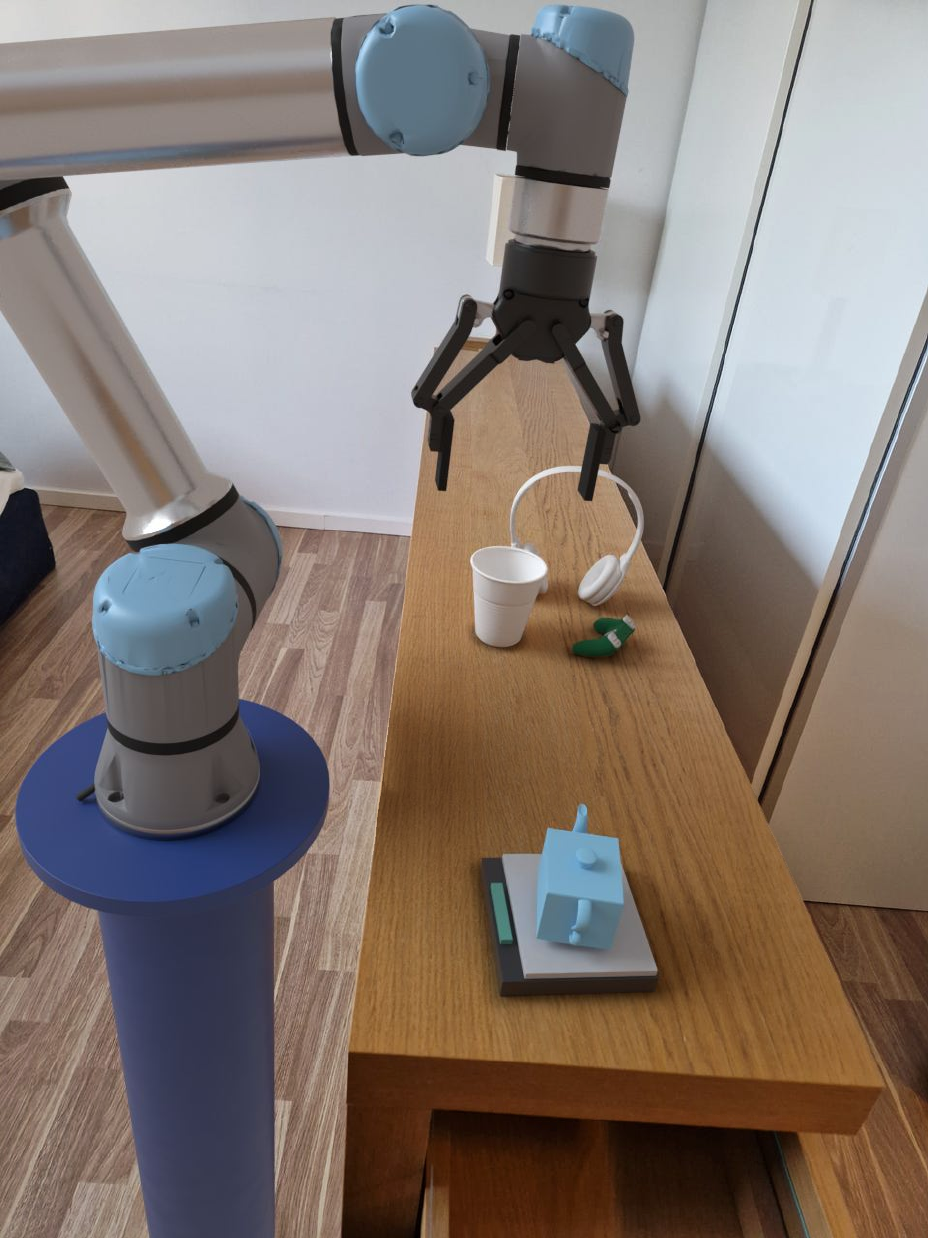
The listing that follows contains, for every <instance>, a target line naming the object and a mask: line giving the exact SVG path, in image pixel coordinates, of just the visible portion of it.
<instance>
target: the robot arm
mask: <svg viewBox="0 0 928 1238" xmlns="http://www.w3.org/2000/svg"><path fill="white" fill-rule="evenodd" d="M634 45H635V31H634V29H633V25H632V24H631V22H630V21H629V19H628V18H626V17H625V16H624V15H621V14H619V13H616V12H613V11H609V10H607V9H602V8H597V7H591V6H583V5H582V6H581V5H568V4H548V5H545V6H543V7H541V8H540V9H539V10H538V11H537V13H536V14H535V19H534V23H533V26H532V27H531V29H530V34H523V33H520V34H513V33H511V34H505V33H500V32H494V31H488V30H482V29H476V28H472V27H470V26H469V25H468V24H467V23H466V22H465V21H464V20H463V19H462V18H461V17H460V16H458V15H457V14H456V13H454V12H453V11H451V10H446V9H443V8H442V7H440V6H439V5H438V4H437V5H436V4H420V3H418V4H406V5H401V6H398V7H396V8H395V9H393V10H392V11H389V12H385V13H383V12H382V13H371V14H359V15H352V16H347V17H338V18H337V17H336V16H330V17H319V18H316V17H315V18H305V19H292V20H280V21H268V22H267V21H266V22H256V23H243V24H230V25H229V24H227V25H219V26H218V25H217V26H216V25H215V26H204V27H203V26H202V27H193V28H180V29H165V30H153V31H152V30H151V31H142V32H140V31H139V32H130V33H117V34H103V35H91V36H90V35H89V36H79V37H67V38H54V39H53V38H51V39H39V40H28V41H14V42H4V43H3V42H2V43H0V313H1V314H2V316H3V318H4V320H5V321H6V323H7V324H8V325H9V327H10V329H11V331H13V333H14V336H16V339H17V340H18V341H19V343H20V344H21V346H22V348H23V349H24V351H25V353H26V354H27V356H28V357H29V359H30V361H31V362H32V364H33V365H34V367H35V368H36V370H37V372H38V373H39V375H40V376H41V378H42V379H43V381H44V383H45V384H46V386H47V387H48V389H49V391H50V392H51V395H53V397H54V398H55V400H56V402H57V403H58V405H59V406H60V408H61V410H62V412H63V413H64V414H65V416H66V418H67V420H68V421H69V423H70V425H72V428H73V429H74V430H75V432H76V434H77V435H78V437H79V438H80V441H82V443H83V445H84V447H85V448H86V449H87V451H88V453H89V454H90V456H91V457H92V459H93V461H94V462H95V464H96V465H97V468H98V469H99V471H100V472H101V473H102V475H103V477H104V478H105V480H106V481H107V484H109V486H110V487H111V489H112V491H113V492H114V494H115V496H116V497H117V498H118V501H119V502H120V504H121V505H122V507H123V508H124V510H125V513H126V515H125V519H124V523H123V527H122V530H121V535H122V537H123V539H124V540H125V542H126V544H127V545H128V546H129V548H130V550H131V552H129V553H127V554H124V555H123V556H121V557H119V558H118V559H117V560H115V561H114V562H112V563H111V564H110V565H109V566H108V567H107V568H106V569H105V570H104V571H103V572H102V573H101V574H100V577H99V578H98V580H97V582H96V584H95V587H94V591H93V594H92V595H93V596H92V617H91V626H92V627H91V628H92V633H93V638H94V641H95V644H96V652H97V658H98V665H99V666H98V667H99V672H100V680H101V681H100V682H101V687H102V695H103V701H104V710H105V711H104V712H106V717H107V725H108V729H107V732H106V736H105V739H104V742H103V746H102V749H101V752H100V756H99V759H98V763H97V766H96V770H95V778H94V783H93V784H92V785H90V786H89V787H88V788H86V789H85V790H83V791H82V792H80V793H79V794H77V795H76V798H77V799H78V800H79V801H82V800H84V799H85V798H87V797H88V796H90V795H91V794H92V793H94V792H95V797H96V803H97V806H98V809H99V811H100V813H101V814H102V815H103V817H104V818H105V819H106V820H107V821H108V822H109V823H110V824H111V825H113V826H114V827H115V828H117V829H119V830H120V831H122V832H124V833H127V834H129V835H132V836H135V837H139V838H143V839H149V840H159V841H172V840H183V839H189V838H194V837H198V836H202V835H205V834H208V833H211V832H213V831H216V830H218V829H220V828H222V827H224V826H226V825H227V824H229V823H231V822H232V821H234V820H235V819H236V818H238V817H239V816H240V815H241V814H242V813H243V812H244V811H245V810H247V808H248V807H249V806H250V805H251V803H252V802H253V800H254V799H255V797H256V795H257V792H258V789H259V785H260V764H259V759H258V755H257V750H256V749H255V747H254V746H255V745H254V743H253V742H252V741H253V740H251V739H252V737H251V738H250V736H251V735H250V736H249V734H250V732H249V734H248V732H247V729H246V727H245V725H244V723H243V721H242V719H241V717H240V714H239V699H240V688H239V664H240V663H239V662H240V656H241V654H242V653H241V652H242V651H243V649H244V647H245V645H246V643H247V641H248V638H249V636H250V634H251V632H252V631H253V629H254V627H255V625H256V623H257V621H258V619H259V617H260V615H261V613H262V611H263V609H264V607H265V605H266V603H267V602H268V600H269V598H270V597H271V596H272V594H273V592H274V591H275V588H276V585H277V584H278V581H279V577H280V573H281V568H282V563H283V555H284V554H283V553H284V552H283V543H282V538H281V534H280V532H279V529H278V527H277V526H276V524H275V522H274V520H273V519H272V517H271V516H270V515H269V514H268V512H267V511H266V510H265V509H264V508H263V507H262V506H260V505H259V504H258V503H256V502H255V501H254V500H253V501H250V500H248V499H247V498H245V496H243V495H241V494H240V493H239V492H238V490H237V487H236V486H235V484H234V482H233V481H232V480H231V478H230V477H229V476H226V475H223V474H220V473H216V472H213V471H212V470H211V471H210V470H209V469H208V468H207V466H206V465H205V464H206V463H204V461H203V459H202V457H201V456H200V453H199V452H198V451H197V449H196V447H195V445H194V443H193V442H192V440H191V438H190V435H189V434H188V433H187V431H186V429H185V427H184V425H183V424H182V422H181V421H180V418H179V417H178V415H177V413H176V411H175V409H174V407H172V404H171V403H170V401H169V399H168V397H167V396H166V394H165V392H164V390H163V389H162V387H161V385H160V383H159V381H158V380H157V378H156V376H155V374H154V372H153V371H152V369H151V367H150V365H149V364H148V362H147V360H146V359H145V357H144V355H143V353H142V352H141V350H140V348H139V346H138V344H137V343H136V341H135V339H134V337H133V335H132V334H131V332H130V330H129V328H128V327H127V325H126V323H125V321H124V319H123V318H122V316H121V315H120V312H119V311H118V309H117V307H116V305H115V304H114V302H113V300H112V299H111V297H110V295H109V293H108V292H107V290H106V288H105V286H104V284H103V283H102V281H101V278H100V277H99V276H98V274H97V272H96V270H95V268H94V267H93V265H92V262H90V260H89V258H88V256H87V255H86V253H85V251H84V249H83V247H82V246H81V244H80V241H79V240H78V238H77V236H76V235H75V233H74V231H73V230H72V228H71V226H70V224H69V220H68V214H69V209H70V205H71V199H72V195H73V193H72V190H71V189H70V187H69V185H68V183H67V182H66V179H65V177H71V176H72V177H73V176H86V175H99V174H100V175H101V174H115V173H116V174H117V173H126V172H127V173H128V172H141V171H143V172H144V171H157V170H158V171H159V170H171V169H187V168H200V167H214V166H229V165H242V164H243V165H244V164H257V163H258V164H259V163H271V162H272V163H273V162H284V161H285V162H286V161H298V160H299V161H301V160H314V159H316V160H317V159H327V158H330V159H331V158H342V157H355V156H356V157H357V156H361V157H371V156H386V155H387V156H388V155H401V154H402V155H403V154H406V155H408V156H410V157H430V156H437V155H443V154H447V153H449V152H451V151H453V150H455V149H457V148H458V147H460V146H466V147H467V146H468V147H473V148H474V147H475V148H483V149H494V150H497V151H502V152H506V151H509V152H515V153H516V165H515V167H514V168H515V170H514V180H513V188H512V193H511V199H510V200H511V202H510V208H509V214H508V220H507V229H508V231H509V232H510V233H512V234H513V238H511V239H508V240H507V242H505V243H504V245H505V246H504V251H503V252H504V253H503V259H502V266H501V273H500V280H499V289H498V293H497V296H496V298H495V300H494V301H493V302H488V301H484V300H481V299H480V300H479V299H475V298H474V297H472V296H471V295H470V294H468V293H467V294H464V295H463V294H462V295H461V297H460V298H459V301H458V305H457V309H456V314H455V319H454V321H453V323H452V324H451V326H450V328H449V329H448V331H447V332H446V335H444V337H443V339H442V340H441V343H440V344H439V346H438V347H437V349H436V350H435V352H434V353H433V356H432V357H431V358H430V360H429V362H428V363H427V365H426V367H425V368H424V370H423V371H422V373H421V375H420V376H419V378H418V380H417V382H416V383H415V385H414V386H413V388H412V390H411V391H410V397H411V400H412V403H413V406H414V407H416V409H422V410H424V411H426V412H428V413H429V419H428V420H429V421H428V430H427V445H428V448H429V451H430V452H435V453H437V459H436V466H435V477H434V481H435V485H436V488H437V491H438V492H447V488H448V481H449V480H448V479H449V470H450V464H451V456H452V454H451V453H452V447H453V438H454V429H455V417H454V415H453V413H452V411H451V410H452V409H453V408H455V407H456V406H457V405H458V404H459V403H460V402H461V401H462V400H463V399H464V398H465V397H466V396H467V395H468V394H469V393H470V392H471V391H472V390H474V388H475V387H476V386H478V385H479V383H480V382H481V381H483V380H484V379H485V378H486V377H487V376H488V375H489V374H490V373H491V372H492V371H493V370H495V368H496V367H498V366H499V365H501V364H502V363H504V362H505V361H506V360H507V359H508V358H509V357H510V356H512V357H514V358H516V359H517V360H518V361H523V362H530V361H536V360H537V361H540V362H542V363H544V364H552V365H554V364H555V362H559V361H560V360H563V361H564V363H565V364H566V366H567V367H568V369H569V371H570V373H571V374H572V376H573V377H574V379H575V381H576V382H577V384H578V386H579V387H580V390H581V391H582V393H583V394H584V397H585V398H586V400H587V401H588V403H589V404H590V406H591V408H592V409H593V411H594V413H595V414H596V417H597V419H598V420H599V421H600V422H599V423H597V422H590V423H589V428H588V432H587V439H586V444H585V449H584V453H583V458H582V465H581V466H582V469H581V472H580V474H579V478H578V479H579V480H578V484H577V492H578V494H579V495H580V496H581V498H582V500H583V501H584V502H593V500H594V495H595V489H596V485H597V479H598V476H599V475H598V470H600V465H609V464H610V461H611V459H612V456H613V450H614V445H615V441H616V436H617V435H618V434H620V433H621V432H622V430H623V428H625V427H628V426H631V427H636V426H638V425H639V424H640V422H641V418H642V417H641V414H640V410H639V406H638V401H637V398H636V394H635V393H636V392H635V390H634V386H633V383H632V379H631V374H630V370H629V367H628V362H627V358H626V354H625V351H624V346H623V333H624V323H625V320H624V318H623V317H622V315H620V314H619V313H617V312H615V311H614V310H612V309H606V310H605V311H604V312H603V313H602V312H600V313H594V312H593V313H591V312H590V307H589V306H590V299H591V294H592V288H593V283H594V277H595V272H596V267H597V261H598V256H597V255H596V251H594V250H592V249H593V245H597V244H598V243H600V242H601V240H602V235H603V229H604V223H605V217H606V210H607V205H608V199H609V192H610V187H611V182H612V179H611V178H612V176H613V170H614V166H615V160H616V155H617V149H618V146H619V139H620V134H621V130H622V124H623V119H624V114H625V109H626V104H627V100H628V99H627V98H628V96H629V92H630V91H629V82H630V81H629V80H630V75H631V67H632V61H633V52H634ZM487 318H488V319H489V318H490V319H491V321H492V323H493V325H494V327H495V329H496V331H497V333H496V334H495V335H493V337H491V338H490V339H489V341H487V343H485V345H484V347H483V348H482V349H481V350H479V352H478V353H477V354H476V355H475V356H474V357H473V358H471V360H470V361H469V362H468V363H467V364H465V366H464V367H463V368H462V369H461V370H460V371H459V372H457V374H455V376H454V377H452V378H451V379H450V380H449V382H447V383H446V384H445V385H444V386H443V387H442V388H441V389H440V390H439V391H438V392H437V393H436V394H435V392H436V390H437V388H438V387H439V386H440V384H441V382H442V381H443V379H444V377H445V376H446V374H447V372H448V371H449V370H450V368H451V366H452V365H453V363H454V362H455V360H456V358H457V357H458V355H459V354H460V352H461V351H462V349H463V347H464V346H465V344H466V342H467V341H468V339H469V338H470V336H471V334H472V331H473V328H479V327H480V326H481V325H482V324H483V322H484V320H485V319H487ZM590 328H591V329H592V330H593V333H594V336H595V337H596V338H597V339H599V340H600V343H601V347H602V348H601V349H602V351H603V355H604V360H605V364H606V367H607V370H608V374H609V378H610V381H611V382H610V383H611V386H612V389H613V394H614V398H615V401H616V404H617V405H616V406H617V409H615V410H613V408H612V406H611V405H610V403H609V401H608V399H607V398H606V396H605V394H604V393H603V390H602V389H601V387H600V386H599V384H598V382H597V380H596V379H595V377H594V375H593V373H592V372H591V370H590V368H589V366H588V364H587V363H586V360H585V358H584V357H583V355H582V353H581V351H580V350H579V348H578V346H577V345H576V344H578V343H579V341H580V340H581V339H582V338H583V337H584V336H585V335H586V334H587V333H588V331H589V330H590ZM246 726H247V725H246ZM248 731H249V730H248Z"/></svg>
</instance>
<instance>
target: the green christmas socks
mask: <svg viewBox="0 0 928 1238" xmlns="http://www.w3.org/2000/svg"><path fill="white" fill-rule="evenodd" d="M593 629H594V630H595V632H597V633H599V634H602V637H599V638H598V637H597V638H591V639H590V638H589V639H583V640H579V641H577V642H575V643H573V644H572V651H571V652H572V654H573V655H577V656H580V657H586V658H587V657H588V658H601V657H611V656H613V654H615V653H617V652H618V651H619V650H620V649H621V648H622V647H623V645H624V644H625V643H626V642H627V640H629V638H630V637H631V635H633V633H635V631H636V624H635V622H634V621H633V619H632V618H631V617H630V616H629V615H628V614H626V615H625V616H624V617H622V618H613V617H600V618H597V619H596V620H595V621H594V622H593Z"/></svg>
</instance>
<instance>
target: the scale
mask: <svg viewBox="0 0 928 1238" xmlns="http://www.w3.org/2000/svg"><path fill="white" fill-rule="evenodd" d="M541 856H542V853H502V857H482V858H481V862H480V869H479V874H480V882H481V887H482V892H483V893H482V894H483V899H484V907H485V912H486V918H487V925H488V931H489V937H490V944H491V949H492V956H493V962H494V969H495V977H496V981H497V987H498V993H499V997H505V996H508V997H509V996H540V995H542V996H545V995H547V996H549V995H578V994H579V995H580V994H581V995H583V994H615V993H618V994H619V993H620V994H621V993H649V992H650V993H653V992H655V990H656V987H657V984H658V982H659V979H660V977H659V974H658V971H659V970H658V967H657V964H656V961H655V958H654V954H653V952H652V950H651V946H650V944H649V940H648V938H647V935H646V932H645V928H644V925H643V923H642V919H641V917H640V914H639V911H638V908H637V905H636V903H635V899H634V896H633V894H632V890H631V887H630V884H629V882H628V879H627V876H626V873H625V869H624V867H623V863H622V861H621V860H620V862H621V873H622V886H623V897H624V907H623V910H622V914H621V917H620V920H619V924H618V927H617V930H616V933H615V937H614V940H613V943H612V947H611V950H607V949H600V948H594V947H587V946H580V945H579V946H574V945H572V944H567V943H560V942H554V941H547V940H540V939H536V934H537V888H538V870H539V865H540V861H541Z"/></svg>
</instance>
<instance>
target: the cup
mask: <svg viewBox="0 0 928 1238" xmlns="http://www.w3.org/2000/svg"><path fill="white" fill-rule="evenodd" d="M540 557H541V556H540ZM540 557H539V556H537V555H535V554H533V553H531V552H529V551H526V550H523V549H520V548H515V547H511V546H508V545H493V546H491V545H490V546H486V547H482V548H479V549H478V550H476V551H474V553H473V554H472V555H471V557H470V565H471V568H472V569H471V571H472V584H473V585H472V589H473V605H474V606H473V608H474V611H473V612H474V631H475V632H474V633H475V635H476V636H477V638H478V639H479V640H480V641H481V642H482V643H484V644H486V645H488V646H492V647H495V648H509V647H512V646H514V645H516V644H518V643H519V642H520V641H521V640H522V637H523V635H524V632H525V629H526V626H527V623H528V621H529V617H530V615H531V613H532V610H533V608H534V605H535V602H536V599H537V597H538V595H539V594H538V592H539V589H540V586H541V584H542V581H543V578H544V577H545V576H546V575H547V576H548V571H549V567H548V565H547V563H546V561H545V560H543V558H542V557H541V558H540Z"/></svg>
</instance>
